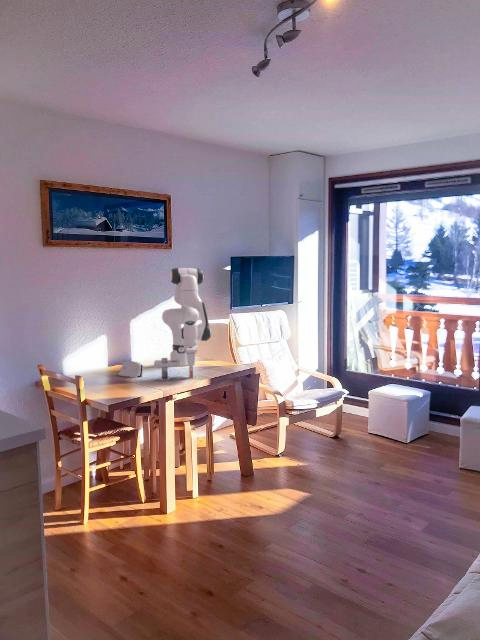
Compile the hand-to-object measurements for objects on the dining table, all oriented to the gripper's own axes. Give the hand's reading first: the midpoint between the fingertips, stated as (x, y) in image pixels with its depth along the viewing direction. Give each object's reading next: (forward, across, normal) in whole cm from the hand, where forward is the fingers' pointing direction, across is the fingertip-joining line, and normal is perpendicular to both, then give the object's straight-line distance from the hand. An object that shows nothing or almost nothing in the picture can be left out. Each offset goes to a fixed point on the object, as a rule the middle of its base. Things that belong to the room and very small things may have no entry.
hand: (191, 370), depth 339 cm
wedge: (+5, 0, 0) cm, 5 cm away
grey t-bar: (+5, +4, -14) cm, 16 cm away
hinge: (+5, -12, -37) cm, 39 cm away
